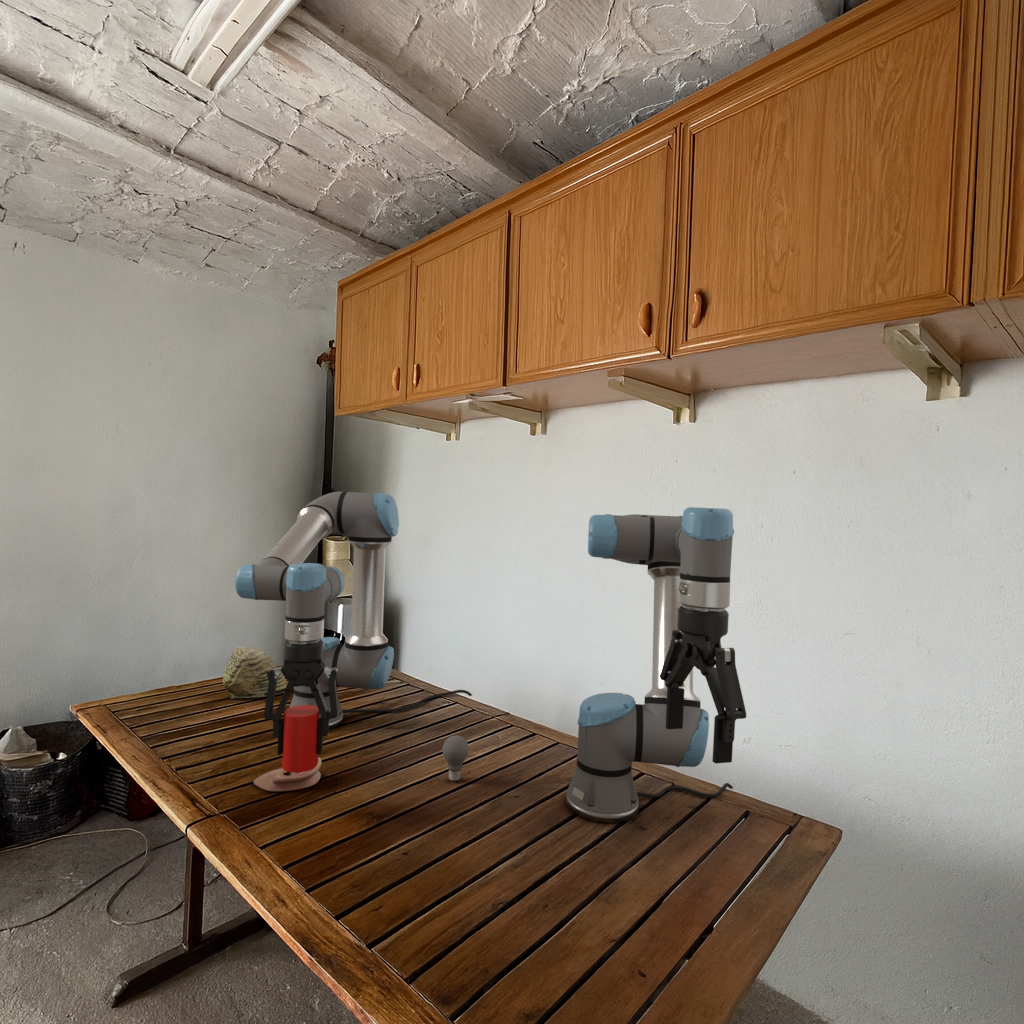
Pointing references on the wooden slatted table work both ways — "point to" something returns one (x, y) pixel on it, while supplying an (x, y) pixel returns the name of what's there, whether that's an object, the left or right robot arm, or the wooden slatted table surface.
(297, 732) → the canister
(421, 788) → the wooden slatted table surface
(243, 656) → the fossil
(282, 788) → the anatomical model
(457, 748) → the light bulb
